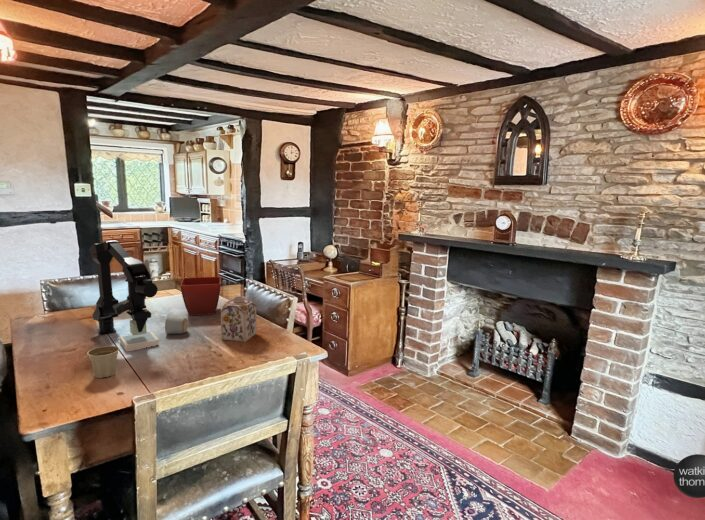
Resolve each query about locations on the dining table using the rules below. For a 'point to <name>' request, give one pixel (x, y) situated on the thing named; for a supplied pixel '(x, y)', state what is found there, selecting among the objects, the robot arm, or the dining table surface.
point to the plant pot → (201, 294)
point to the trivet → (139, 341)
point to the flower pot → (103, 360)
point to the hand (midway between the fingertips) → (138, 330)
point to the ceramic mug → (176, 325)
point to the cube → (134, 328)
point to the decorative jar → (238, 320)
